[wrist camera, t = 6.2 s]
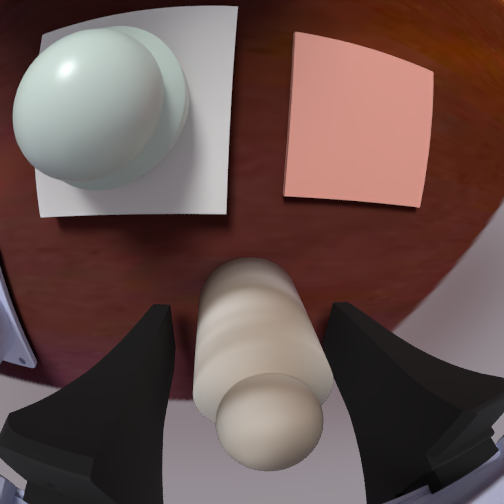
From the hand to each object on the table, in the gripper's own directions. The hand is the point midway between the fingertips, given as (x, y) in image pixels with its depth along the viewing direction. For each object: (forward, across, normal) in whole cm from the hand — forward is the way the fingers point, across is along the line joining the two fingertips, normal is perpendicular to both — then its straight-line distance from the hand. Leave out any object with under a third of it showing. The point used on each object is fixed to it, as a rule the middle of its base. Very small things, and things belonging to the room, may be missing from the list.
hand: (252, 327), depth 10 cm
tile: (+2, -4, -8) cm, 9 cm away
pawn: (+2, 0, 0) cm, 2 cm away
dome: (0, +5, -7) cm, 9 cm away
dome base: (+2, +4, -8) cm, 9 cm away
